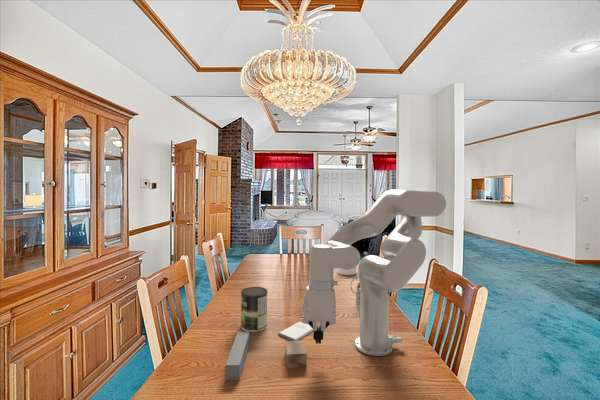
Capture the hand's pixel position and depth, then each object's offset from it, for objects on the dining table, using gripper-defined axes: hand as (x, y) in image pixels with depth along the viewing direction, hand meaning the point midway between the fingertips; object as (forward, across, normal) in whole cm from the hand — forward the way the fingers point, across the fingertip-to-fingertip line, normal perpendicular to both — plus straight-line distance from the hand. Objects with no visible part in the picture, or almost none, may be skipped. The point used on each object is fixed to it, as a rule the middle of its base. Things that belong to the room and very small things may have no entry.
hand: (317, 341), depth 98 cm
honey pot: (+4, -27, -102) cm, 105 cm away
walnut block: (+7, +7, 0) cm, 9 cm away
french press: (+5, -25, -46) cm, 53 cm away
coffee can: (+7, +23, -24) cm, 34 cm away
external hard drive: (+7, +6, -19) cm, 21 cm away
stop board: (+7, +25, 0) cm, 26 cm away
